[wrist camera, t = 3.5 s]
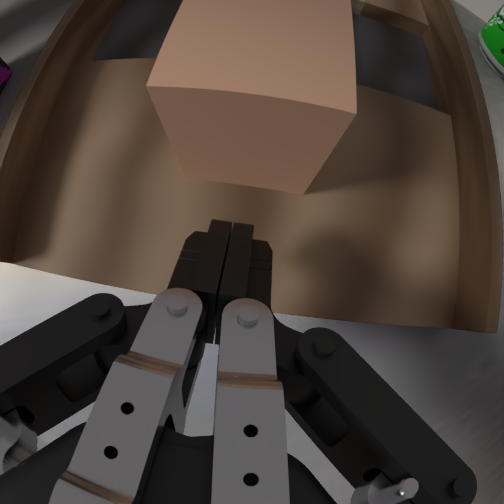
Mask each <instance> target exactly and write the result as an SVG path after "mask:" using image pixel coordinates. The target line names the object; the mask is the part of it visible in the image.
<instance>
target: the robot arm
mask: <svg viewBox="0 0 504 504" xmlns="http://www.w3.org/2000/svg"><path fill="white" fill-rule="evenodd" d="M253 232H254V225H251V224H245V223H238V222H234V224H233V229H232V222H230V221H223V220H216V219H212V220H211V223H210V226H209V229H208V233H207V232H200V231H195V232H193V233H192V234H191V235H190V236H189V237H187V238H186V240H185V243H184V245H183V248H182V250H181V253H180V255H179V259H178V261H177V263H176V266H175V268H174V271H173V274H172V276H171V279H170V282H169V284H168V287H167V289H166V290H165V291H163V292H161V293H160V294H158V295H157V296H156V297H155V299H154V301H153V302H152V303H149V304H145V305H137V306H124V305H123V303H122V301H121V300H120V299H119V298H118V297H116V296H115V295H112V294H108V293H99V294H95V295H92V296H90V297H88V298H86V299H84V300H82V301H80V302H78V303H77V304H75V305H73V306H71V307H69V308H67V309H65V310H64V311H62V312H60V313H58V314H56V315H54V316H53V317H51V318H49V319H47V320H45V321H44V322H42V323H40V324H38V325H36V326H34V327H33V328H31V329H29V330H27V331H26V332H24V333H22V334H20V335H18V336H17V337H15V338H13V339H11V340H10V341H8V342H6V343H4V344H3V345H1V346H0V504H337V503H336V502H335V501H334V500H333V498H332V497H331V496H330V495H329V494H328V492H327V491H326V490H325V489H324V488H323V486H322V485H321V484H320V483H319V481H318V480H317V479H316V478H315V476H314V475H313V474H312V473H311V472H310V470H309V469H308V468H307V467H306V466H305V465H304V464H303V463H302V462H300V461H299V460H298V459H296V458H295V457H293V456H292V455H290V454H288V453H287V440H286V423H285V409H286V410H287V411H288V412H289V414H290V415H291V416H292V417H293V418H294V420H295V421H296V422H297V423H298V424H299V426H300V427H301V428H302V429H303V430H304V432H305V433H306V434H307V435H308V436H309V438H310V439H311V440H312V441H313V442H314V443H315V445H316V446H317V447H318V448H319V449H320V450H321V451H322V453H323V454H324V455H325V456H326V457H327V458H328V460H329V461H330V462H331V463H332V464H333V465H334V466H335V467H336V469H337V470H338V471H339V472H340V473H341V474H342V475H343V476H344V477H345V478H346V480H347V481H348V482H349V483H350V484H351V485H352V486H353V487H354V488H355V491H354V493H353V495H352V498H351V504H471V503H472V501H473V499H474V497H475V495H476V491H477V481H476V477H475V475H474V473H473V471H472V470H471V469H470V468H469V467H468V466H467V465H466V464H465V463H464V462H463V461H462V460H461V458H460V457H459V456H458V455H457V454H456V453H455V452H454V451H453V450H452V449H451V448H450V447H449V446H448V445H447V444H446V443H445V442H444V441H443V440H442V439H441V438H440V437H439V436H438V435H437V434H436V433H435V432H434V431H433V430H432V429H431V428H430V427H429V426H428V425H427V424H426V423H425V422H424V420H423V419H422V418H421V417H420V416H419V415H418V414H417V413H416V412H415V411H414V410H413V409H412V408H411V407H410V406H409V405H408V404H407V403H406V402H405V401H404V400H403V399H402V398H401V397H400V396H399V395H398V394H397V393H396V392H395V391H394V390H393V389H392V388H391V387H390V386H389V385H388V384H387V383H386V382H385V381H384V380H383V379H382V378H381V377H380V375H379V374H378V373H377V372H376V371H375V370H374V369H373V368H372V367H371V366H370V365H369V364H368V363H367V362H366V361H365V360H364V359H363V358H362V357H361V356H360V355H359V354H358V353H357V352H356V351H355V350H354V349H353V348H352V347H351V346H350V345H349V344H348V343H347V342H346V341H345V340H344V339H343V338H342V337H341V336H340V335H339V334H338V333H336V332H334V331H332V330H330V329H327V328H320V327H318V328H312V329H309V330H307V331H305V332H304V333H301V332H298V331H296V330H293V329H291V328H289V327H286V326H285V325H283V324H282V323H281V322H279V321H278V320H277V319H276V317H275V316H274V314H273V312H272V309H271V288H272V260H273V251H272V249H271V247H270V245H269V244H268V242H267V241H263V240H256V239H253ZM231 233H232V234H231ZM215 329H216V336H215V344H218V345H219V354H218V365H217V379H216V394H215V410H214V425H213V435H212V436H197V437H189V436H185V435H183V433H184V428H185V421H186V414H187V410H188V406H189V403H190V399H191V396H192V393H193V389H194V386H195V382H196V379H197V375H198V372H199V369H200V365H201V359H202V357H203V353H204V348H205V343H211V344H213V340H214V335H215ZM94 401H96V402H95V404H94V406H93V408H92V411H91V413H90V415H89V418H88V420H87V422H85V423H82V424H80V425H78V426H76V427H74V428H72V429H71V430H69V431H68V432H66V433H65V434H63V435H62V436H60V437H59V438H57V439H56V440H54V441H53V442H51V443H50V444H48V445H47V446H45V447H44V448H42V449H41V450H39V451H38V452H37V436H39V435H41V434H42V433H44V432H46V431H47V430H49V429H51V428H52V427H54V426H56V425H57V424H59V423H61V422H62V421H64V420H65V419H67V418H69V417H70V416H72V415H74V414H75V413H77V412H78V411H80V410H82V409H83V408H85V407H86V406H88V405H90V404H91V403H93V402H94Z"/></svg>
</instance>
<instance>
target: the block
mask: <svg viewBox="0 0 504 504" xmlns="http://www.w3.org/2000/svg"><path fill="white" fill-rule="evenodd" d="M146 88H147V90H148V92H149V95H150V97H151V99H152V102H153V104H154V106H155V109H156V111H157V113H158V116H159V118H160V120H161V123H162V125H163V127H164V130H165V132H166V134H167V136H168V139H169V141H170V143H171V145H172V148H173V150H174V152H175V155H176V157H177V159H178V161H179V163H180V166H181V168H182V170H183V172H184V175H185V177H186V178H191V179H200V180H208V181H216V182H223V183H231V184H238V185H245V186H252V187H259V188H266V189H272V190H278V191H285V192H291V193H297V194H304V193H305V191H306V190H307V188H308V187H309V185H310V184H311V182H312V181H313V179H314V178H315V176H316V175H317V173H318V172H319V170H320V169H321V167H322V166H323V164H324V163H325V161H326V160H327V158H328V157H329V155H330V154H331V152H332V150H333V149H334V147H335V146H336V144H337V143H338V141H339V140H340V138H341V137H342V135H343V134H344V132H345V131H346V129H347V128H348V126H349V125H350V123H351V122H352V120H353V119H354V117H355V116H356V114H357V102H356V67H355V47H354V32H353V20H352V9H351V0H183V2H182V4H181V6H180V8H179V10H178V12H177V14H176V16H175V18H174V20H173V22H172V24H171V27H170V29H169V31H168V33H167V35H166V38H165V40H164V42H163V45H162V47H161V49H160V52H159V54H158V56H157V59H156V61H155V64H154V66H153V69H152V71H151V74H150V77H149V79H148V82H147V85H146Z"/></svg>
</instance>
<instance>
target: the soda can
mask: <svg viewBox="0 0 504 504" xmlns="http://www.w3.org/2000/svg"><path fill="white" fill-rule="evenodd" d="M478 37H479V42H480V44H479V45H480V50H481V52H482V55H483V56H484V58H485V60H486V61H487V62H488V64H489V65H490V66H491V68H492V69H493V70H494V71H495V72H496V73H497V74H498V75H499V76H500V77H502V78H503V79H504V4H503V5H502V6H501V7H500V9H499V10H498V11H497V12H496V13H495V14H494V15H493V17H492V18H491V19H490V20H489V21H488V22H487V24H486V25H485V26H484V27H483V28H482V29H481V30H480V32H479V34H478Z"/></svg>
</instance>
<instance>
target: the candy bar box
mask: <svg viewBox="0 0 504 504" xmlns="http://www.w3.org/2000/svg"><path fill="white" fill-rule="evenodd" d="M11 71H12V69H11V68H10V67H9V66H8V65H7V64H6V63H5V62H4V61H3V60H2V59H1V58H0V93H1V91H2V89H3V87H4V85H5V83H6V81H7V79H8V77H9V75H10V73H11Z"/></svg>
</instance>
